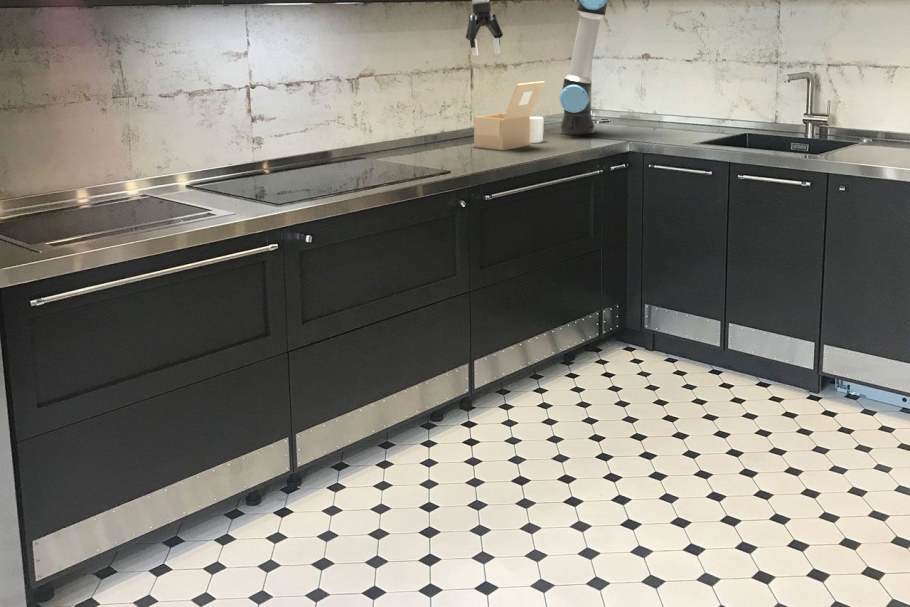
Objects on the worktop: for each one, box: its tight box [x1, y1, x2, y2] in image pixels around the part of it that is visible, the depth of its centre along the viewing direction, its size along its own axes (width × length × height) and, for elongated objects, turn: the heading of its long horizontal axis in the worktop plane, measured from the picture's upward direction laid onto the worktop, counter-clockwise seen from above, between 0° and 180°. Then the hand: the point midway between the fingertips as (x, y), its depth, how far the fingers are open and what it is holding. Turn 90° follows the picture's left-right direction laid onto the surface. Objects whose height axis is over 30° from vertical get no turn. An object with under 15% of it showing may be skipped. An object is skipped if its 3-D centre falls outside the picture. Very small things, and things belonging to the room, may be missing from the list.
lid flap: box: [503, 80, 546, 120], centre depth 402 cm, size 16×15×1 cm
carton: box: [473, 112, 531, 151], centre depth 415 cm, size 16×17×12 cm
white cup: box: [530, 116, 545, 144], centre depth 425 cm, size 8×8×10 cm
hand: (486, 55), depth 433 cm, fingers open, 13 cm apart
